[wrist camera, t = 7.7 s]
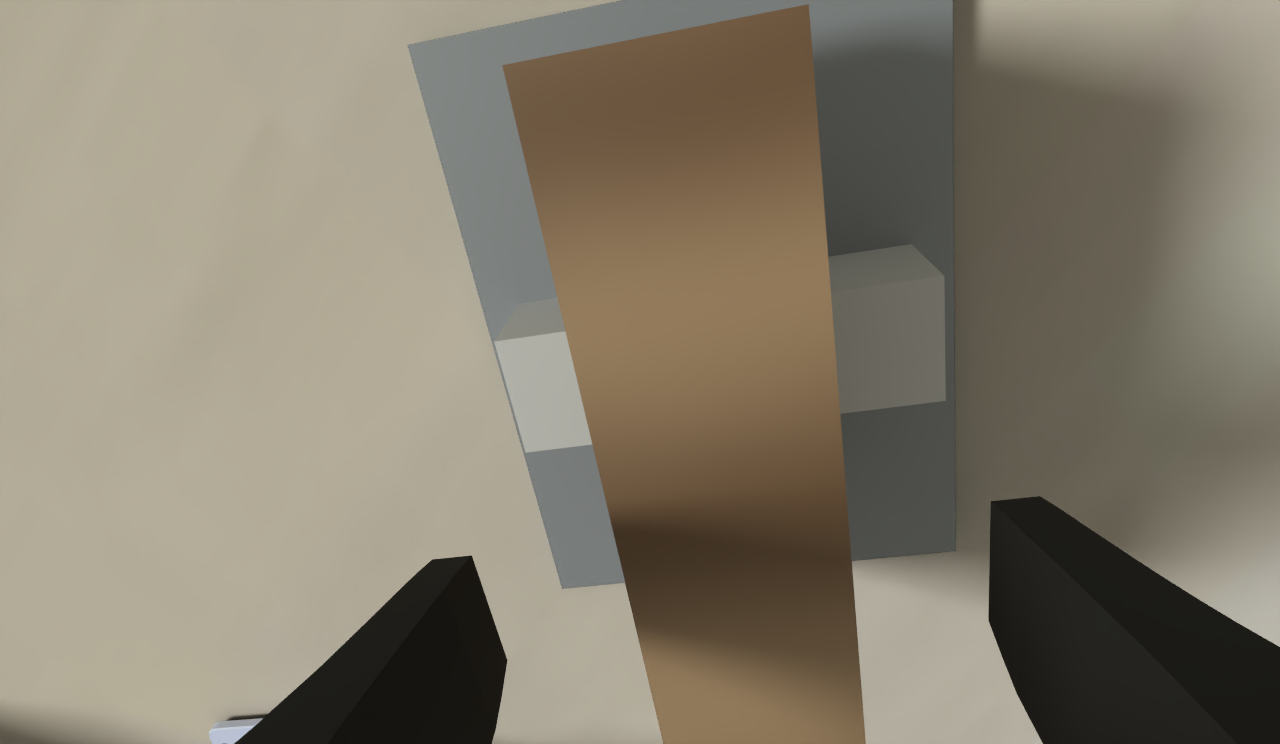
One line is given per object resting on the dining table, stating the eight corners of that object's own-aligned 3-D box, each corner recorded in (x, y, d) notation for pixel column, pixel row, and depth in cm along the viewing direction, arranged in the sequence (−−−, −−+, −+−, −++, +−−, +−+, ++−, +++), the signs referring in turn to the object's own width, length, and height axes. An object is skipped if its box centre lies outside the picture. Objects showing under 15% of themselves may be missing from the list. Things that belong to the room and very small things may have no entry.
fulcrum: (949, 538, 22) (987, 614, 19) (565, 575, 24) (547, 651, 21) (943, -65, 16) (1000, -89, 13) (416, 44, 17) (359, 46, 14)
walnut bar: (821, 596, 19) (871, 817, 14) (686, 608, 20) (683, 826, 14) (763, 16, 14) (809, 3, 8) (577, 54, 14) (502, 65, 9)
